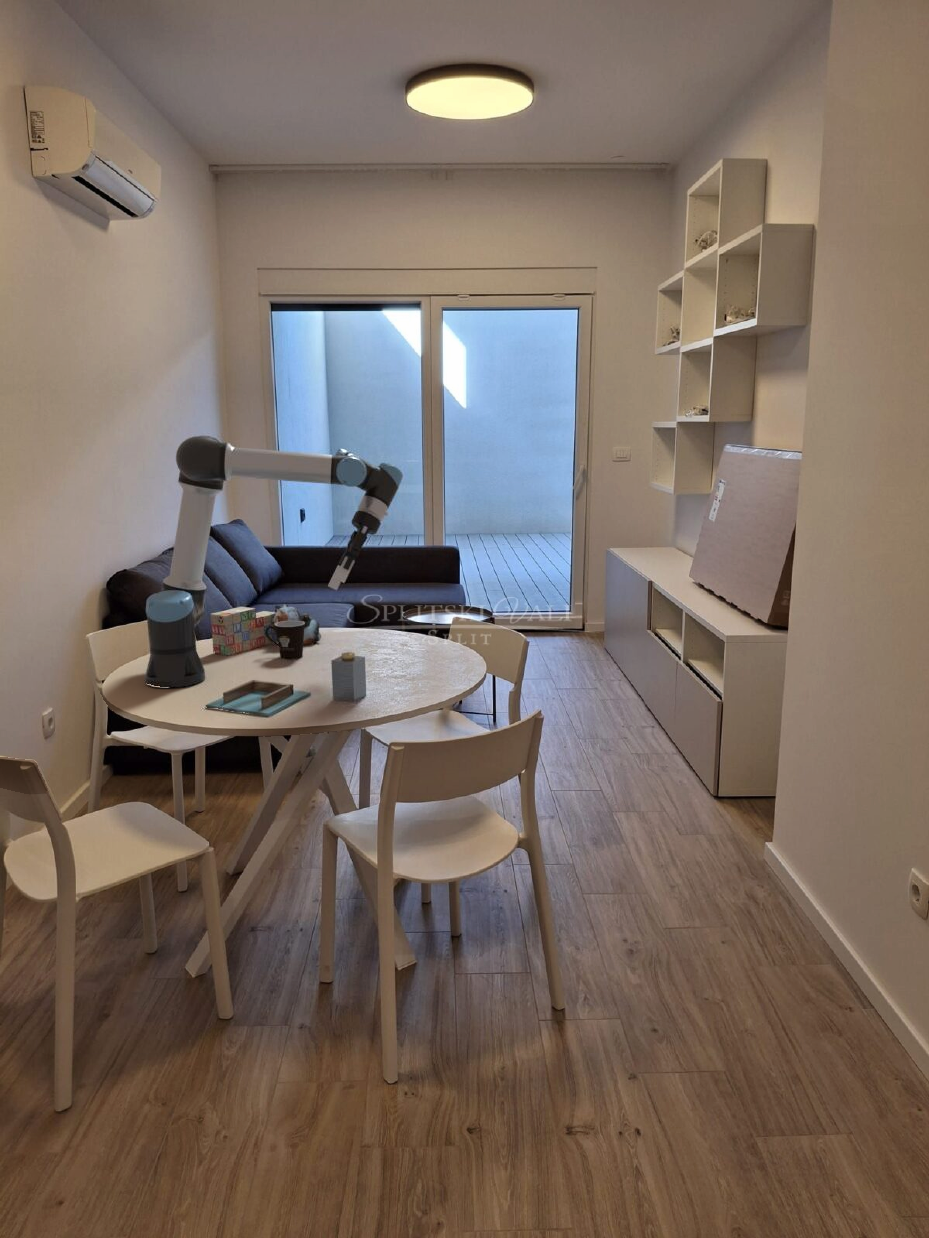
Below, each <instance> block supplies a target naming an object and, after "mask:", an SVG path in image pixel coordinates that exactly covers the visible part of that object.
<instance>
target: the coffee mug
mask: <svg viewBox="0 0 929 1238" xmlns="http://www.w3.org/2000/svg"><path fill="white" fill-rule="evenodd" d="M304 626H305V622H303V621H295V620H291V621H281V622H277V623H275V627H273V626H271V627H268V628H267V629H266V636H267V637H268V638H269V639H270V641H272V642H273V643H272V644H274V645H275V646H277V647H278V652H279V657H280V659H281V660H287V661H288V660H289V661H292V660H297V659H298V660H299V659H301V658H303V656H304V653H303V652H304V644H303V641H304ZM270 628H272V629H274V630H275V631H276V635H277V641H278V642H275V641H274V640H272V639H271V638H270V636H269V635H268V630H269V629H270Z"/></svg>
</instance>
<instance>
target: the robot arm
mask: <svg viewBox="0 0 929 1238" xmlns="http://www.w3.org/2000/svg"><path fill="white" fill-rule="evenodd" d="M175 453H176V455H175V462H176V466H177V468H178V470H179V475H178V481H177V482H178V484H179V485H180V487H181V488H182V495H181V501H180V506H179V513H178V521H177V526H176V533H175V539H174V546H173V552H172V557H171V558H172V559H171V566H170V572H169V575H168V576H167V577H165V578H164V579H163V581H162V586H161V591H159V592H156V593H153V594H151V595H149V597H148V598H146V602H145V604H146V605H145V606H146V607H145V614H146V620H147V630H148V631H147V632H148V644H149V659H148V663H147V667H146V670H145V677H144V678H145V684H146V683H147V684H151V685H154V686H160V687H180V688H183V687H182V686H186V687H189V686H188V685H191V686H193V685H192V684H195V685H198V684H200V683H202V682H203V681H205V680H206V670H205V668H204V665H203V663H202V660H201V658H200V655H199V654H198V653H199V652H198V651H197V642H196V641H197V640H196V630H195V629H196V626H197V625H199V623H201V621H202V620H203V618H204V616H205V613H206V608H207V607H206V601H205V600H206V594H207V585H206V584H205V582H204V581H203V575H204V570H205V563H206V558H207V551H208V545H209V539H210V534H211V533H210V532H211V528H212V522H213V521H212V520H213V514H214V508H215V502H216V496H218V495H219V494H220V493H221V492H223V489H224V481H227V482H229V481H230V480H231V479H232V478H241V479H253V480H255V479H256V480H266V481H267V480H268V481H270V480H271V481H280V482H281V481H283V482H295V483H296V482H299V483H300V482H301V483H312V484H325V485H326V484H328V485H337V486H339V485H340V486H341V485H342V486H346V487H352V488H354V487H356V488H358V489H360V490H361V491H364V492H365V493H364V495H363V496H362V498H361V501H360V502H359V504H358V507H357V511H355V513H354V515H353V516H352V519H351V525H352V526H353V527H354V528H356V529H357V530H354V531H352V533H351V535H350V538H349V541H348V543H347V545H346V546H347V547H346V548H345V550H344V553H343V554H342V556H341V558H340V560H339V561H338V564H337V566H336V568H335V571H334V572H333V574H332V577H331V578H330V581H329V583H327V584H328V585H327V587H329V588H331V589H333V590H335V591H337V590H338V588H339V587H340V585H341V583H343V584H345V582H346V580H347V579H348V577H349V574H350V572H351V570H352V568H353V566H354V564H355V562H356V560H357V558H358V557H359V556H360V552H361V549H362V548H363V546H364V544H365V543H366V541H367V539H368V535H369V536H370V535H372V536H373V535H376V534H377V533H378V531H379V530H380V529H379V528H380V526H381V522H382V521H383V520H384V519H385V516H388V515H389V512H387V511H388V509H389V508H390V507H391V504H392V502H393V500H394V498H395V496H396V494H397V492H398V490H399V488H400V485H401V483H402V480H403V477H404V476H403V472H402V471H401V470H400V469H399V468H398V467H397V466H395V465H393V464H391V463H388V462H380V463H379V464H378V466H377V465H374V464H372V463H370V462H369V461H367V460H365V459H363V458H362V457H360V456H357V455H355V453H353V452H352V451H348V450H346V449H344V448H338V449H337V451H336V453H335V454H327V453H326V454H325V453H324V454H323V453H313V452H298V451H297V452H296V451H288V450H287V451H285V450H273V449H272V450H271V449H261V448H260V449H259V448H249V447H247V448H244V447H235V446H233V445H231V443H230V442H222V441H220V440H219V439H218V438H216V437H213V436H210V435H195V436H191V437H189V438H187V439H185V440H184V441H182V442H181V443H180V445H178V448H177V450H176V452H175ZM204 679H205V680H204ZM201 681H202V682H201ZM199 682H200V683H199ZM197 683H198V684H197Z"/></svg>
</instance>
